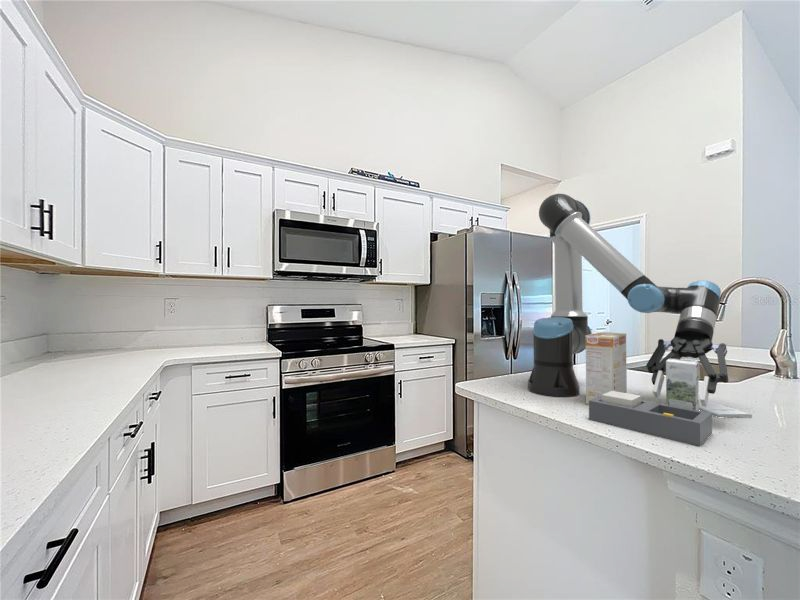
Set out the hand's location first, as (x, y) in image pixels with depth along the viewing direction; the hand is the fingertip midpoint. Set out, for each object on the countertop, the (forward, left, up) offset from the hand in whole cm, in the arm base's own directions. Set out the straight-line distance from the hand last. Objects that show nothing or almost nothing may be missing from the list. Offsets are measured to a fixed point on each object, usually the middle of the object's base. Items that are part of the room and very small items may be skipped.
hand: (678, 398), depth 83 cm
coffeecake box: (-18, +6, -6) cm, 20 cm away
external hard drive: (+3, +20, -6) cm, 21 cm away
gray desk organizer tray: (-4, -8, -6) cm, 11 cm away
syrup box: (0, +3, -6) cm, 7 cm away
